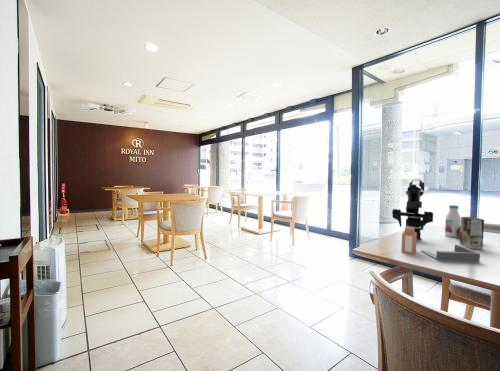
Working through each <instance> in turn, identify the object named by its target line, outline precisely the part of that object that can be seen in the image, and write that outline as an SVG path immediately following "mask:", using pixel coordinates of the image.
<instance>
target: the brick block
mask: <svg viewBox="0 0 500 371" xmlns="http://www.w3.org/2000/svg"><path fill="white" fill-rule="evenodd" d="M417 243H418V242H417V233H416V232H415V228H411V227H406V226H405V227H404V230H403V231H402V232H401V250H400V251H401V253H403V254H409V255H415V256H416V253H417Z"/></svg>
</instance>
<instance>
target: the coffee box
mask: <svg viewBox="0 0 500 371" xmlns="http://www.w3.org/2000/svg"><path fill="white" fill-rule="evenodd" d="M460 218H461V233H460V239H459V245H460V246H462V247H464V248H467V249H469V250H473V249H474V250H475V249H476V250H483V245H484V244H483V243H484V231H485V230H484V228H485V227H484V226H485V219H483V218H478V217H475V216H460Z"/></svg>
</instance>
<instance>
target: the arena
mask: <svg viewBox="0 0 500 371" xmlns="http://www.w3.org/2000/svg"><path fill="white" fill-rule="evenodd" d="M421 252H422V253H423V254H425V255H427V256H429V257H430V258H432V259H434V260H436V261H438V262H458V263H477V264H478V263H480V262H481V260H480V259H481V253H480V252H477V251H474V250H473V249H470V248H468V247H465V246H463V245H461V244H454V251H453V250H431V249H430V250H429V249H428V250H425V249H421Z"/></svg>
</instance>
